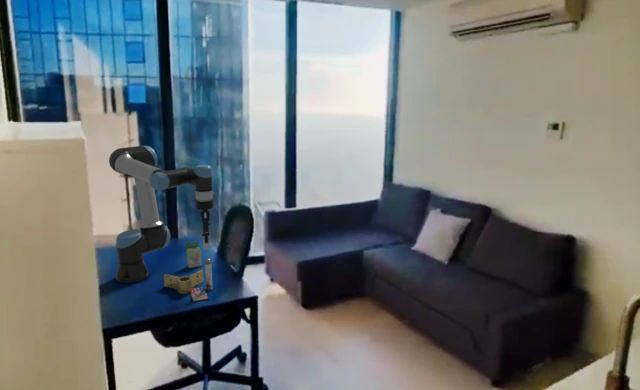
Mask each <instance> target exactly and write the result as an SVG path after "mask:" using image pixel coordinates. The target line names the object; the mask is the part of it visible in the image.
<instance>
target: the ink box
mask: <svg viewBox="0 0 640 390" xmlns="http://www.w3.org/2000/svg"><path fill="white" fill-rule="evenodd" d="M191 244H192V245H191ZM185 250H186V253H185V254H186V264H187V265H186V267H188V269H192V268H198V267H202V266H203V262H202V250H201V247H200V246H199V240H193V241H187V242H185Z"/></svg>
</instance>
